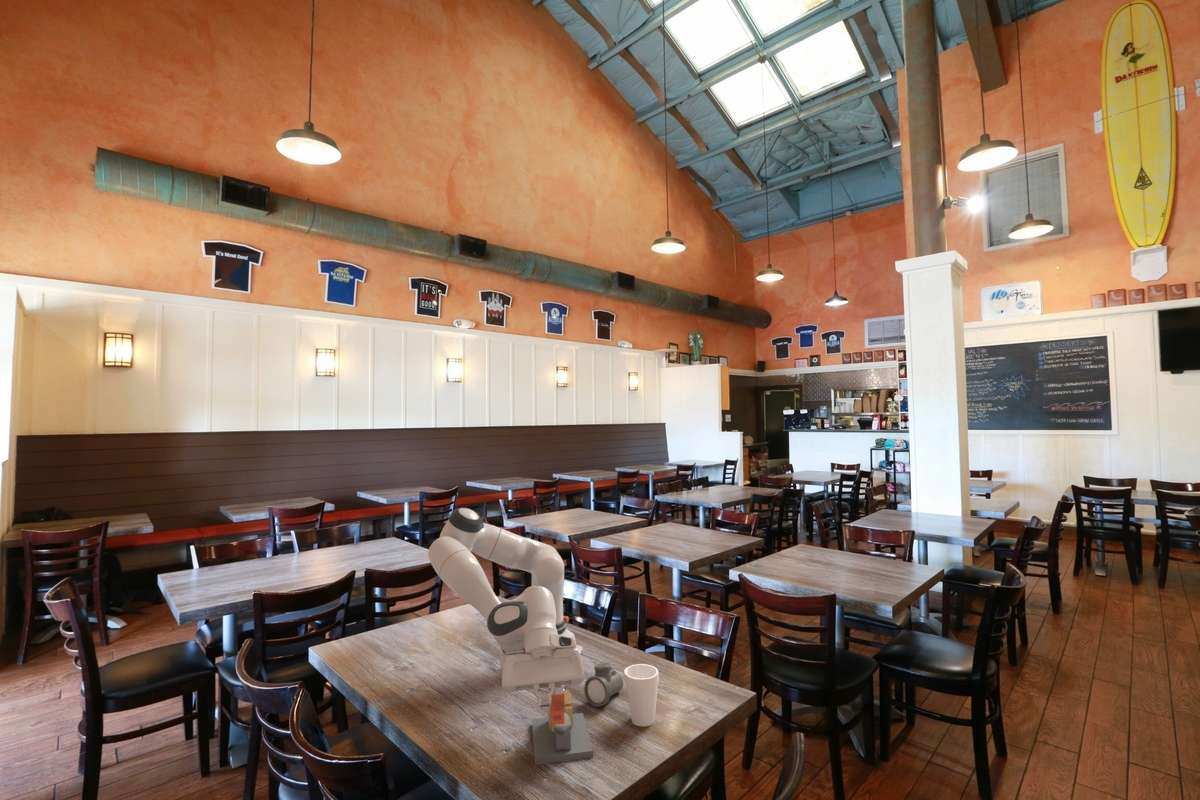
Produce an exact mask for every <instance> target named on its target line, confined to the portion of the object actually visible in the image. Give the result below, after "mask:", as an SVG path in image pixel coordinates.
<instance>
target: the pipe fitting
mask: <svg viewBox="0 0 1200 800" xmlns="http://www.w3.org/2000/svg"><path fill="white" fill-rule="evenodd" d="M593 668H594V671H595V673H594V675H593V676H590V677H589V678H587V680H586V681H585V684H584V687H583V690H584V691H583V692H584V696H585V698H586V700H587V702H588V703H589V704H590V705H591V706H592V707H595V708H600V707H603V706H604V705H606V704H607V703H608V702H609V700H610V699H611V697H612V696H614V695H616V694H617V693H619V692H621V690H622V689H623V687H624V679H623V677H622V675H621V674H620V673H619V672H618V671H616V668H614V667H612V664H611V663H610V662H598V663H595V664H594V666H593Z"/></svg>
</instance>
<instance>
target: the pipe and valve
mask: <svg viewBox="0 0 1200 800" xmlns="http://www.w3.org/2000/svg"><path fill="white" fill-rule="evenodd" d="M549 693H550V691H548V693H547V694H546V695H547V696H548V695H549ZM553 694H555V690H554V693H553ZM563 694H565V716H564V724H552V725H551V706H547V717H548V721H549V729H550V730H552V732H555V747H556V752H563V751H571V734H570V730H573V728H572V727H573V714H574V708H573V707H574V703H573V698H572V694H571V691H570V690H569V689H565V690H564V691H563ZM551 704H552V697H551Z"/></svg>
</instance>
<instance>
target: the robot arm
mask: <svg viewBox="0 0 1200 800" xmlns="http://www.w3.org/2000/svg"><path fill="white" fill-rule="evenodd" d="M428 548H429V549H428V553H427V555H428V556H427V557H428V560H429V561H430V564H431V566H432V568H433V569H434V571H435V572H436V574H437V575H438V577H439V578H440V579H441V581H442V582H443V583H444V584H445V585H446V586H447V587H448V588H449V589H450V590H452V592H454V593H455V594H457V596H459V597H460V598H462V599H463V600H464V601H466V602H467V603H468V604H469V605H470V606H471V607H473V608H474V609H475V610H476V611H477V612H478V613H479V614H480V615H481V616H482V617H483V618H484V620H485V621H486V626H487V629H488V631H489V633H490V635H491V636H492V637H493V638H494V640H495V642H496V643H497V644H498V645H499V647H500V649H501V650H502V655H500V663H499V664H500V667H501V669H502V673H501V689H503V691H504V692H506V693H507V692H514V691H515V692H516V691H524V690H533V695H534V696H535V698H536V700H537V701H538V702H537V703H538V708H544V707H545V708H546V707H547V708H548V706H551V697H552V695H553V693H554V689H555V686H563V685H565V686H569V685H570V686H571V685H578V684H579V685H580V684H582V683H583V681H584V679H585V669H584V663H583V660H582V658H583V657H582V656H581V653H582V652H583V647H582V646H581V645H578V644H577V641H576V636H575V634H574V632H572V631H570V629H568V628H567V625H566V623H568V622H569V620H570V618H569V616H566V615H564V603H563V602H564V594H563V593H564V584H565V563H564V560H563V558H562V557H561V555H560V554H559V552H558V551H557V549H556V548H555V547H554V546H552V545H550V544H547V543H544V542H541V541H538V540H535V539H531V538H528V537H524V536H522V535H519V534H516V533H514V532H511V531H510V530H509V531H508V530H507V529H504V528H501V527H498V526H496V525H493V524H489V523H485V522H483V520H482V518H481V516H480V514H479V513H477V512H476V511H475V510H473V509H471V508H467V507H458V508H455V509H454V510H453V511H452V512H451V513H450V515H449V516H448V519H447V521H446V523H445V524H444V526H443V528H442V530H441V532H440V535H439V538H436V539H435V540H434V541H433V542H432V543H431V545H430V546H429V547H428ZM474 554H475V555H477V556H479V557H481V558H483V559H486V560H487V561H491V562H493V563H496V564H498V565H501V566H503V567H506V568H510V569H511V568H512V569H516V570H520V571H521V570H522V571H525V572H527V573H530V574H531V586H528V587H526V588H525V589H524V590H523V592H521V593H520V594H519V595H518V596H516V597H514V598H513V599H510V600H508V601H505V602H502V601H501V600H500V599H499V598H498V597H497V595H496V593H495V592H494V590H493V588H492V586H491V584H490V582H489V580H488V577H487V575H486V573H485V571H484V570H483V567H482V566H481V564H480V562H479V560H478V559H477V557H476V556H475V555H474ZM581 651H582V652H581ZM543 688H548V692H550V693H549V695H548V696H541V694H540V689H543Z"/></svg>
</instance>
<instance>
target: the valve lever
mask: <svg viewBox="0 0 1200 800" xmlns="http://www.w3.org/2000/svg"><path fill="white" fill-rule="evenodd" d="M554 690H555V694H553V695H552V704H551V725H552V724H564V716H565V694H563V691H564V690H566V685H563V686H555V689H554Z"/></svg>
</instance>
